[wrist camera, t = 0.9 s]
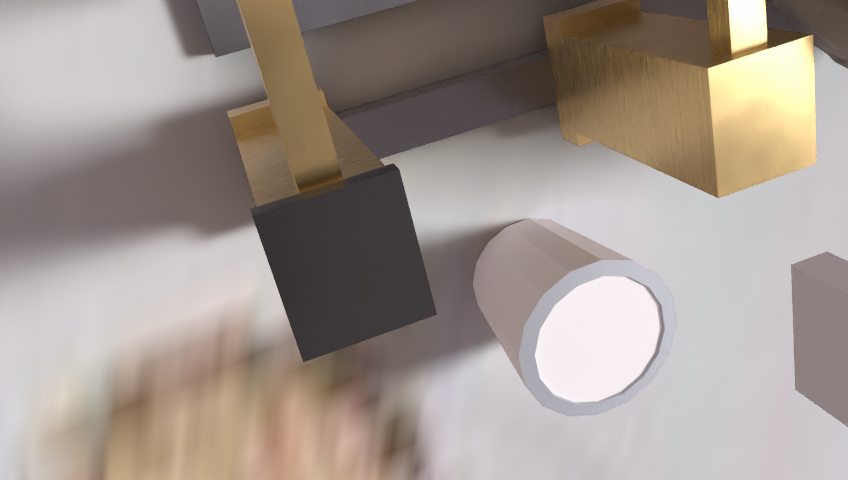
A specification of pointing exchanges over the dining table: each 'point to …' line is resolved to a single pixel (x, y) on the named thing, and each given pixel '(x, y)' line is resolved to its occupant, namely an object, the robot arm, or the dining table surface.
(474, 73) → the rail
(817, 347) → the robot arm
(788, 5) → the bowl
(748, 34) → the fixed leg
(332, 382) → the dining table surface
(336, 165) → the sliding leg
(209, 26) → the hole plate
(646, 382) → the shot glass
